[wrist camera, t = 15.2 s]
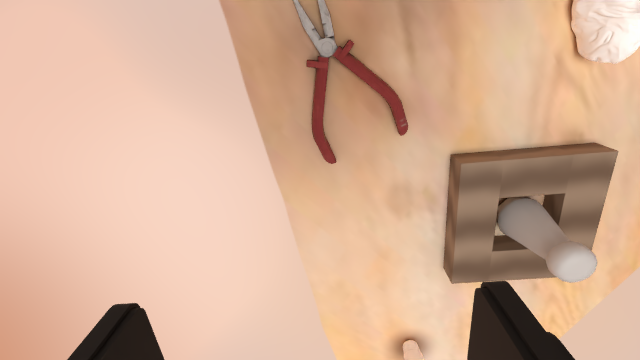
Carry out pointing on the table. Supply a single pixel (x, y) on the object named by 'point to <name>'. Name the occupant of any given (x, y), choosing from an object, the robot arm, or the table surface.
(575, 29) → the bust
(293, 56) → the table surface
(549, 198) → the walnut stand
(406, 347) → the lightbulb
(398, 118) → the pliers
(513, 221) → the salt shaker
